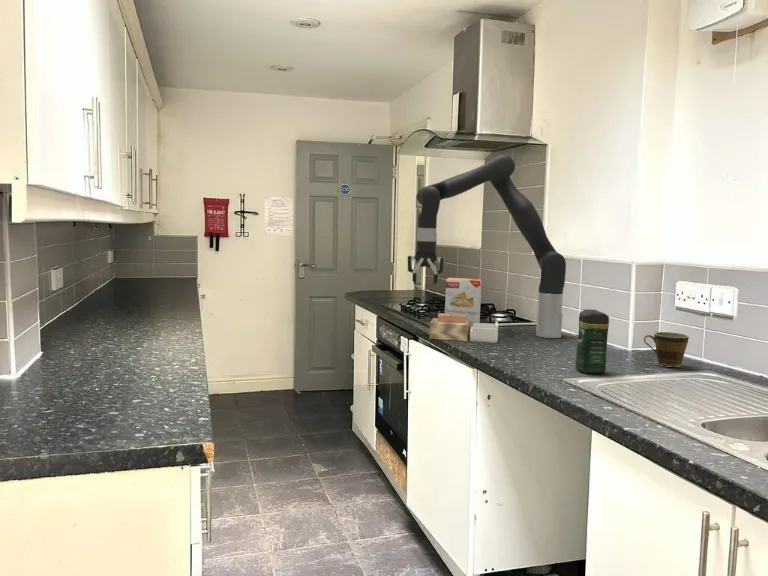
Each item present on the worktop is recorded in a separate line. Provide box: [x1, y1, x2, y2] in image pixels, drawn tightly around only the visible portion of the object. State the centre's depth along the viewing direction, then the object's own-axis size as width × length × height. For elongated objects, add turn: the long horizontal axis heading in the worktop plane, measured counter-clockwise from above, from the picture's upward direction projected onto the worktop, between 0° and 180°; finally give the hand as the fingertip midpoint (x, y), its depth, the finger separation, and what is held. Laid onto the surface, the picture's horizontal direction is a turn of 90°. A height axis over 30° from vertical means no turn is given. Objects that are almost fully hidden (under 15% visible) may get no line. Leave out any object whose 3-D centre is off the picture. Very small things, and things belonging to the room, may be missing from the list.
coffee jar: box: [575, 308, 610, 374], centre depth 183 cm, size 10×8×19 cm
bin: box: [469, 321, 499, 344], centre depth 230 cm, size 10×12×6 cm
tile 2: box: [452, 314, 466, 323], centre depth 231 cm, size 5×5×2 cm
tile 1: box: [437, 312, 452, 323], centre depth 232 cm, size 5×5×2 cm
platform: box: [429, 317, 469, 342], centre depth 232 cm, size 14×12×6 cm
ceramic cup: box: [643, 331, 690, 367], centre depth 194 cm, size 13×10×10 cm
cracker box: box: [444, 277, 483, 332], centre depth 249 cm, size 14×6×21 cm, turn 75°
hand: (424, 283), depth 232 cm, fingers open, 7 cm apart
